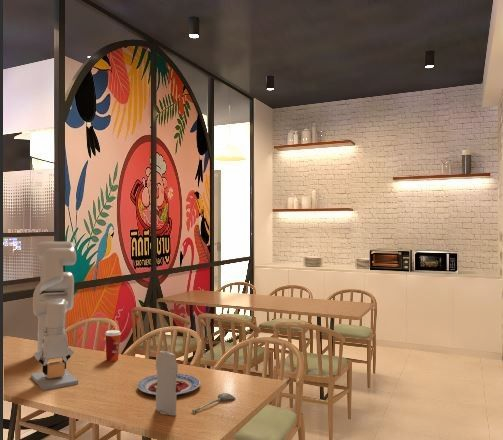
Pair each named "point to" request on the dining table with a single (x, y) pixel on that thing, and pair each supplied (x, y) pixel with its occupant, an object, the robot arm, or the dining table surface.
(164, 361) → the tall pale column
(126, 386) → the dining table surface
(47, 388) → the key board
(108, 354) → the paper cup
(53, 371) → the tan slotted block
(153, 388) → the ceramic plate
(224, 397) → the soupspoon
